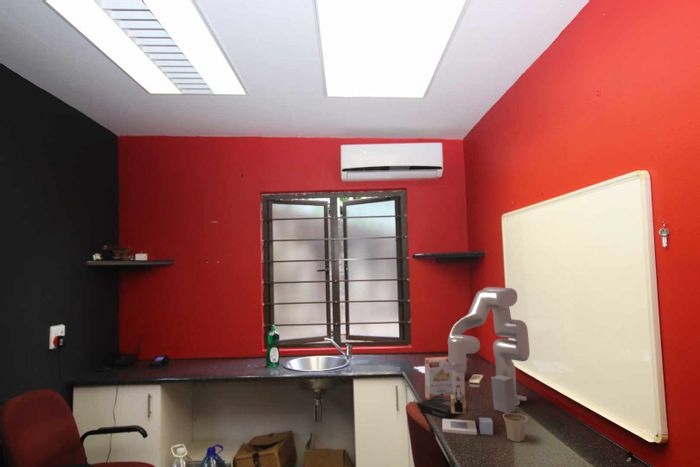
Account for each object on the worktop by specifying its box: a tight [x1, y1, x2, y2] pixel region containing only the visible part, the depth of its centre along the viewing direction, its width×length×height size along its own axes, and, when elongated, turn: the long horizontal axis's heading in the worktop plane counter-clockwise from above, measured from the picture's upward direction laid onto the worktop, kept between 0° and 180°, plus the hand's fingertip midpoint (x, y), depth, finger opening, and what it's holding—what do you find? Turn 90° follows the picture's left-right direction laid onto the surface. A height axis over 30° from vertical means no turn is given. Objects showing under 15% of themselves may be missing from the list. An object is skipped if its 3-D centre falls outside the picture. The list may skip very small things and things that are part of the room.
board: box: [441, 418, 478, 436], centre depth 180 cm, size 14×12×1 cm
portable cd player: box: [417, 396, 468, 420], centre depth 201 cm, size 16×17×4 cm
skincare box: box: [490, 375, 517, 414], centre depth 201 cm, size 8×7×16 cm
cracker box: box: [424, 356, 453, 400], centre depth 219 cm, size 14×6×21 cm, turn 105°
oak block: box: [451, 394, 467, 415], centre depth 180 cm, size 6×6×6 cm
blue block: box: [478, 416, 494, 436], centre depth 175 cm, size 5×5×5 cm
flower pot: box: [502, 412, 528, 443], centre depth 168 cm, size 9×9×9 cm
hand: (458, 408), depth 180 cm, fingers closed on oak block, 6 cm apart
